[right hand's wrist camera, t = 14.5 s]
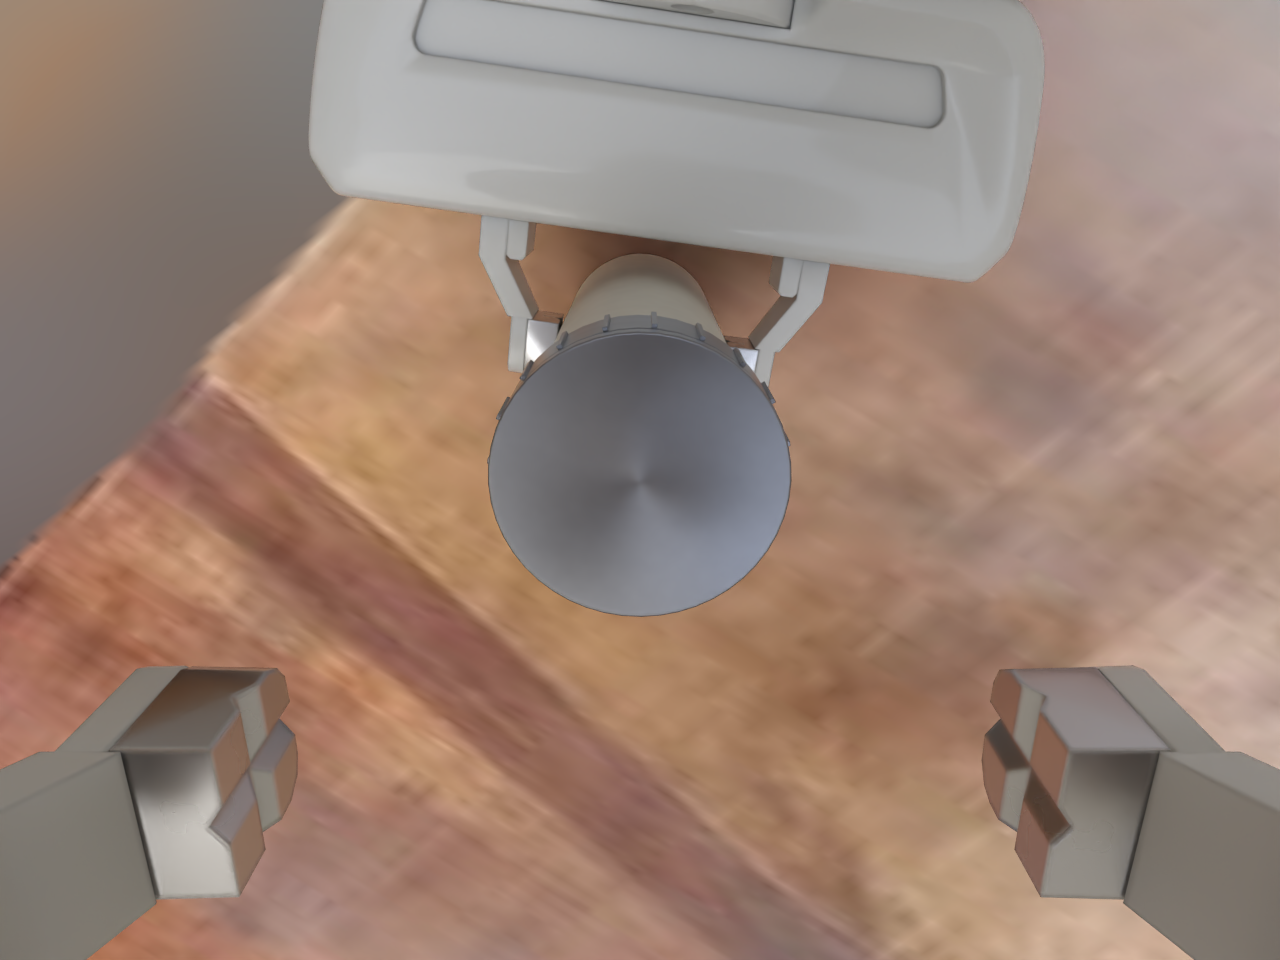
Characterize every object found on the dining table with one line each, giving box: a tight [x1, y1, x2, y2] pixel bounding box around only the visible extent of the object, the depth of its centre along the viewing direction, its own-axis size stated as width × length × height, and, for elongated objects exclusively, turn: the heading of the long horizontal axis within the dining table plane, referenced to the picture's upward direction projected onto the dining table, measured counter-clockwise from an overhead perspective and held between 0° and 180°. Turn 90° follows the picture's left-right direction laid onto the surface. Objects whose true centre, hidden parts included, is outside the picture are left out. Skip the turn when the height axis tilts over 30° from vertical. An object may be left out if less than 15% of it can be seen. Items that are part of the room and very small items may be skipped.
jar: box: [554, 254, 727, 344], centre depth 26 cm, size 5×5×16 cm
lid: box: [487, 312, 791, 617], centre depth 18 cm, size 6×6×2 cm
